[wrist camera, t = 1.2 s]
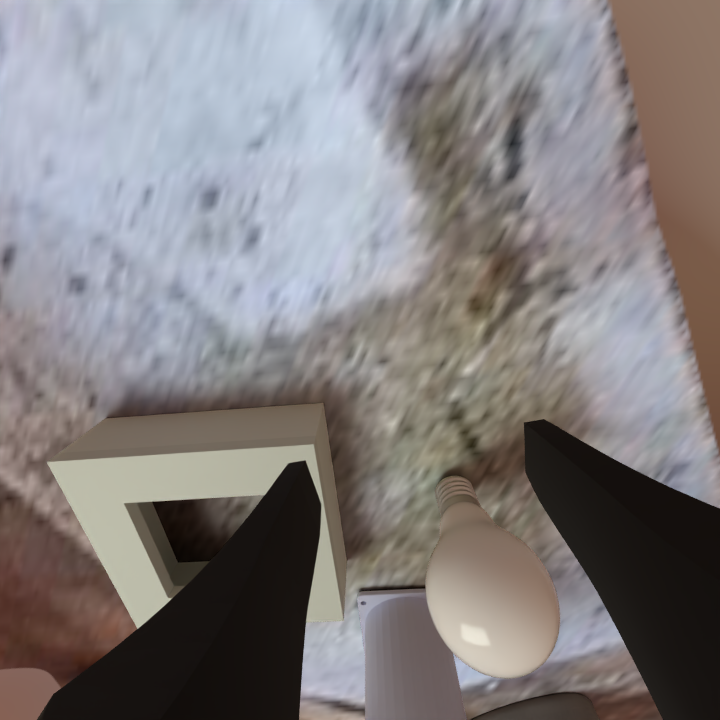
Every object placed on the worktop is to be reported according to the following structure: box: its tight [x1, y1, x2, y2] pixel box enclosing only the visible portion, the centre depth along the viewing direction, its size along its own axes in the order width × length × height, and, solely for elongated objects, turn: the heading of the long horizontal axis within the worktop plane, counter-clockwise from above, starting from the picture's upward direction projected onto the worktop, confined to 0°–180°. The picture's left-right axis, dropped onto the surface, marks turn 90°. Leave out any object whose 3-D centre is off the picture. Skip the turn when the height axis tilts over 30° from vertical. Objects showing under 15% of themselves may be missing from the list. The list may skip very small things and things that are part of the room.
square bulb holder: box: [47, 403, 347, 628], centre depth 23 cm, size 15×15×4 cm
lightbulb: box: [425, 476, 560, 679], centre depth 19 cm, size 6×6×11 cm
